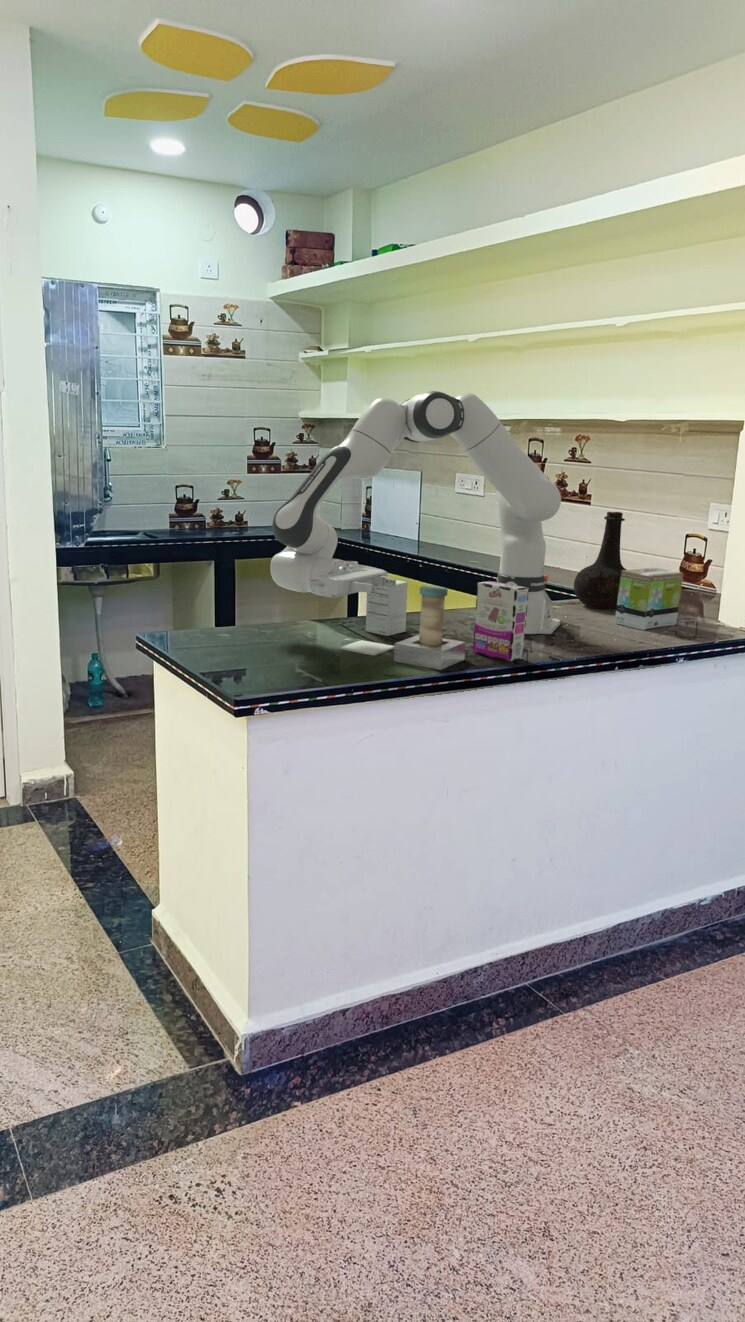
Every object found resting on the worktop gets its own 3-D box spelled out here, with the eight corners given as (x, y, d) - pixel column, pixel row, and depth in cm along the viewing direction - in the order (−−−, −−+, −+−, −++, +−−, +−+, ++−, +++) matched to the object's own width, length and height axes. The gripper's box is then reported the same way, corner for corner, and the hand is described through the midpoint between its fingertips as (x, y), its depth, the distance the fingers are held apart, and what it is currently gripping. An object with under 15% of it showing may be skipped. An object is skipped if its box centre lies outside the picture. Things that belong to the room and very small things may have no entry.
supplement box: (383, 627, 233) (385, 577, 230) (406, 632, 229) (408, 581, 225) (364, 631, 227) (366, 580, 224) (387, 636, 223) (390, 585, 220)
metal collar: (419, 651, 210) (420, 634, 209) (464, 659, 204) (465, 642, 203) (393, 661, 200) (394, 643, 199) (440, 670, 195) (441, 651, 194)
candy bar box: (524, 659, 207) (530, 587, 203) (510, 662, 203) (516, 589, 199) (485, 649, 214) (490, 579, 210) (471, 652, 211) (476, 581, 207)
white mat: (361, 642, 216) (361, 640, 216) (394, 648, 212) (394, 646, 211) (340, 649, 209) (340, 647, 208) (374, 655, 204) (374, 653, 204)
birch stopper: (423, 655, 206) (428, 584, 202) (447, 660, 203) (452, 588, 199) (410, 660, 201) (414, 588, 197) (435, 665, 198) (439, 592, 194)
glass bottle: (560, 605, 272) (569, 509, 265) (595, 599, 284) (604, 507, 277) (611, 615, 260) (622, 515, 253) (646, 609, 271) (657, 513, 264)
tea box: (645, 631, 242) (651, 575, 238) (613, 623, 249) (619, 569, 245) (677, 625, 251) (684, 571, 247) (646, 618, 259) (652, 566, 255)
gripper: (306, 568, 202) (359, 577, 195) (356, 560, 219) (406, 567, 212) (304, 597, 203) (357, 606, 196) (354, 586, 220) (405, 594, 213)
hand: (383, 586), depth 204 cm, fingers open, 8 cm apart
